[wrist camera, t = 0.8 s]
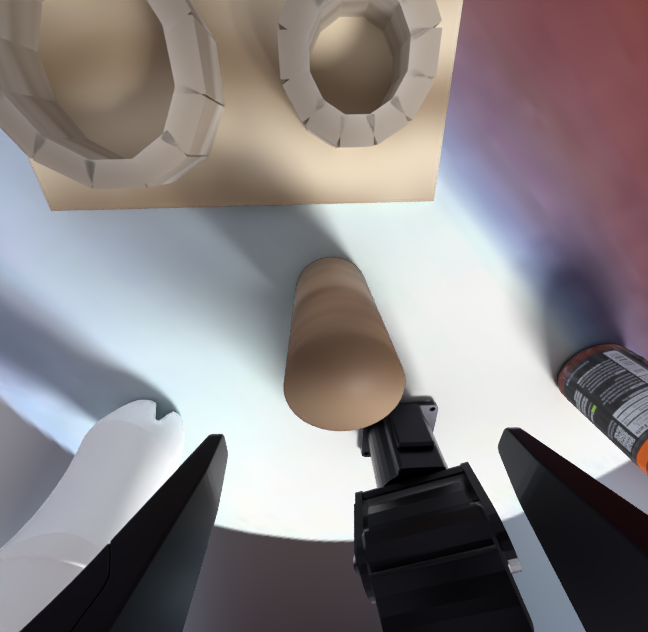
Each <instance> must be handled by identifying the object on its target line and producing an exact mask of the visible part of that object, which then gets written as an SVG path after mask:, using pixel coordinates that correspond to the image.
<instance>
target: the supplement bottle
mask: <svg viewBox="0 0 648 632" xmlns="http://www.w3.org/2000/svg"><path fill="white" fill-rule="evenodd" d="M558 387H559V390H560V391H561V393H562V394H563V395H564V396H565V397H566V398H567V400H568V401H570V402H571V403H572V404H573V405H574V406H575V407H576V408H577V409H578V410H579V411H580V412H581V413H582V414H583V415H584V416H585V417H587V418H588V419H589V421H591V422H592V423H593V424H594V425H595V426H596V427H597V428H598V429H599V430H600V431H601V432H602V433H603V434H604V435H606V436H607V437H608V438H609V439H610V440H611V441H612V442H613V443H614V444H615V445H616V446H617V447H618V448H619V449H620V450H622V451H623V452H624V453H625V454H626V455H627V456H628V457H629V458H630V459H631V460H632V461H633V462H634V463H635V464H636V465H638V466H639V467H640V468H641V469H642V470H643V471H644V472H645V473H646V474H647V475H648V361H647V360H646V359H644V358H643V357H641V356H639V355H637V354H636V353H634V352H632V351H630V350H628V349H627V348H625V347H622V346H619V345H615V344H603V345H597V346H593V347H590V348H588V349H585V350H583V351H581V352H580V353H578V354H577V355H575V356H573V358H572V359H570V360H569V361H568V362H567V363H566V364H565V365H564V367H563V368H562V370H561V372H560V374H559V377H558Z"/></svg>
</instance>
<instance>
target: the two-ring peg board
mask: <svg viewBox="0 0 648 632" xmlns="http://www.w3.org/2000/svg"><path fill="white" fill-rule="evenodd" d="M462 4H463V0H0V128H1V129H2V130H3V131H4V132H5V133H6V134H7V135H8V136H9V137H10V138H11V139H12V140H13V141H14V142H15V143H16V144H17V145H18V146H19V147H20V148H21V149H22V150H23V152H24V153H25V154H26V155H27V156H28V158H29V161H30V163H31V165H32V168H33V170H34V172H35V175H36V177H37V179H38V182H39V184H40V186H41V188H42V191H43V193H44V195H45V198H46V200H47V202H48V205H49V207H50V209H51V211H62V210H101V209H141V208H180V207H220V206H259V205H298V204H338V203H377V202H416V201H434V195H435V188H436V181H437V174H438V168H439V161H440V154H441V147H442V140H443V133H444V127H445V120H446V113H447V106H448V99H449V92H450V86H451V79H452V72H453V65H454V58H455V51H456V45H457V38H458V31H459V24H460V17H461V10H462Z"/></svg>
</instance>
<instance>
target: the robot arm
mask: <svg viewBox="0 0 648 632" xmlns="http://www.w3.org/2000/svg"><path fill="white" fill-rule="evenodd" d="M431 407H432V408H431ZM437 412H438V406H437V404H436V403H435V402H413V403H398V404H397V406H396V407H395V408H394V409H393V410H392V411H391V412H390V413H389V414H388V415H387V416H386V417H384V418H383V419H381V420H380V421H378V422H376V423H374V424H372V425H370V426H367V427H364V428H362V441H361V453H362V456H364V457H371V459H372V464H373V469H374V474H375V479H376V484H377V488H376V489H372V490H369V491H365V492H363V491H360V492H356V493H355V504H354V560H353V566H354V570H355V573H356V574H357V575H358V576H360V577H361V579H362V583H363V586H364V589H365V592H366V594H367V596H368V598H369V600H370V602H371V603H376V605H377V609H378V613H379V617H380V621H381V625H382V629H383V632H534V627H533V623H532V620H531V618H530V615H529V613H528V611H527V609H526V606H525V604H524V602H523V599H522V597H521V595H520V593H519V590H518V588H517V585H516V583H515V581H514V578H513V576H512V574H513V573H518V572H521V571H522V569H521V566H520V563H519V560H518V557H517V555H516V552H515V550H514V547H513V545H512V543H511V541H510V538H509V536H508V534H507V532H506V530H505V528H504V526H503V523H502V521H501V519H500V518H499V516H498V514H497V512H496V510H495V508H494V506H493V505H492V503H491V501H490V499H489V498H488V496H487V494H486V493H485V491H484V489H483V487H482V486H481V484H480V482H479V480H478V479H477V477H476V475H475V474H474V472H473V470H472V468H471V467H470V465H469V463H468V462H465V463H461V464H460V465H459V466H456V467H452V468H449V469H448V467H447V465H446V463H445V460H444V458H443V456H442V453H441V451H440V449H439V446H438V444H437V442H436V439H435V437H434V435H433V430H434V425H435V421H436V416H437ZM498 450H499V454H500V456H501V459H502V461H503V464H504V466H505V469H506V471H507V474H508V476H509V478H510V481H511V483H512V486H513V488H514V491H515V493H516V496H517V498H518V500H519V502H520V504H521V506H522V508H523V510H524V512H525V514H526V516H527V518H528V520H529V522H530V524H531V526H532V528H533V530H534V532H535V534H536V536H537V538H538V540H539V541H540V543H541V545H542V547H543V549H544V551H545V553H546V555H547V557H548V559H549V561H550V563H551V565H552V567H553V568H554V570H555V572H556V574H557V576H558V578H559V580H560V582H561V584H562V586H563V588H564V590H565V592H566V594H567V596H568V598H569V600H570V601H571V603H572V605H573V607H574V609H575V611H576V613H577V615H578V617H579V619H580V621H581V622H582V625H583V627H584V629H585V631H586V632H648V515H647V514H645V513H644V512H642V511H641V510H639V509H638V508H637V507H635V506H634V505H632V504H631V503H629V502H628V501H626V500H625V499H623V498H622V497H621V496H619V495H618V494H616V493H615V492H613V491H612V490H610V489H609V488H607V487H606V486H604V485H603V484H601V483H600V482H598V481H597V480H596V479H594V478H593V477H591V476H590V475H588V474H587V473H585V472H584V471H582V470H581V469H580V468H578V467H577V466H575V465H574V464H572V463H571V462H569V461H568V460H566V459H565V458H563V457H562V456H560V455H559V454H558V453H556V452H555V451H553V450H552V449H550V448H549V447H547V446H546V445H544V444H543V443H541V442H540V441H539V440H537V439H536V438H534V437H533V436H531V435H530V434H528V433H527V432H525V431H524V430H522V429H521V428H517V427H513V428H506V429H504V431H503V434H502V436H501V439H500V441H499V444H498ZM227 457H228V451H227V446H226V442H225V437H224V435H223V434H211V435H209V436H208V437H207V438H206V439H205V440H204V441H203V442H202V443H201V444H200V445H199V446H198V447H197V449H196V450H195V451H194V452H193V453H192V454H191V455H190V456H189V457H188V458H187V459H186V460H185V461H184V462H183V464H182V465H181V466H180V467H179V468H178V469H177V470H176V471H175V472H174V473H173V474H172V475H171V476H170V477H169V479H168V480H167V481H166V482H165V483H164V484H163V485H162V486H161V487H160V488H159V489H158V490H157V491H156V492H155V494H154V495H153V496H152V497H151V498H150V499H149V500H148V501H147V502H146V503H145V504H144V505H143V506H142V507H141V509H140V510H139V511H138V512H137V513H136V514H135V515H134V516H133V517H132V518H131V519H130V520H129V521H128V522H127V524H126V525H125V526H124V527H123V528H122V529H121V530H120V531H119V532H118V533H117V534H116V535H115V536H114V537H113V539H112V540H111V541H110V544H107V545H106V546H105V547H104V548H103V549H102V550H101V551H100V552H99V553H98V554H97V556H96V557H95V558H94V559H93V560H92V561H91V562H90V563H89V564H88V565H87V566H86V567H85V568H84V569H83V570H82V571H81V572H80V573H79V574H78V575H77V576H76V577H75V578H74V579H73V581H72V582H71V583H69V584H68V585H67V586H66V587H65V588H64V589H63V590H62V591H61V592H60V593H59V594H58V595H57V596H56V597H55V598H54V599H53V600H52V601H51V602H50V603H49V604H48V605H47V606H46V607H45V608H44V609H43V610H42V611H41V612H40V613H38V614H37V615H36V616H35V617H34V618H33V619H32V620H31V621H30V622H29V623H28V624H27V625H26V626H25V627H24V628H23V629H22V630H20V631H19V632H183V628H184V625H185V621H186V618H187V614H188V611H189V608H190V604H191V601H192V598H193V594H194V591H195V587H196V584H197V580H198V577H199V573H200V570H201V567H202V563H203V560H204V556H205V553H206V550H207V546H208V543H209V539H210V536H211V532H212V529H213V526H214V522H215V519H216V515H217V511H218V506H219V502H220V496H221V491H222V485H223V480H224V474H225V469H226V464H227Z"/></svg>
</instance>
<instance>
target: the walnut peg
mask: <svg viewBox="0 0 648 632" xmlns="http://www.w3.org/2000/svg"><path fill="white" fill-rule="evenodd" d="M404 388H405V374H404V371H403V367H402V365H401V363H400V360H399V358H398V356H397V353H396V351H395V349H394V346H393V344H392V342H391V339H390V337H389V335H388V332H387V330H386V328H385V325H384V323H383V320H382V318H381V316H380V313H379V311H378V309H377V306H376V304H375V302H374V299H373V297H372V295H371V292H370V290H369V288H368V285H367V283H366V281H365V278H364V276H363V274H362V272H361V271H360V270H359V269H358V267H357V266H355V265H354V264H353V263H351V262H350V261H348V260H345V259H342V258H338V257H326V258H321V259H319V260H316V261H314V262H312V263H311V264H309V265H308V266H307V267H306V268H305V269H304V270H303V271H302V273H301V274H300V276H299V278H298V280H297V284H296V291H295V299H294V307H293V314H292V322H291V330H290V338H289V346H288V354H287V362H286V370H285V378H284V395H285V399H286V401H287V403H288V405H289V407H290V409H291V410H292V411H293V412H294V413H295V414H296V415H297V416H298V417H299V418H300V419H302V420H303V421H305V422H306V423H308V424H310V425H312V426H315V427H318V428H321V429H325V430H331V431H350V430H356V429H360V428H364V427H367V426H370V425H372V424H374V423H376V422H378V421H380V420H381V419H383V418H384V417H386V416H387V415H388V414H389V413H390V412H391V411H392V410H393V409H394V408H395V407H396V406H397V404H398V403H399V401H400V400H401V398H402V395H403V393H404Z"/></svg>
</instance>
